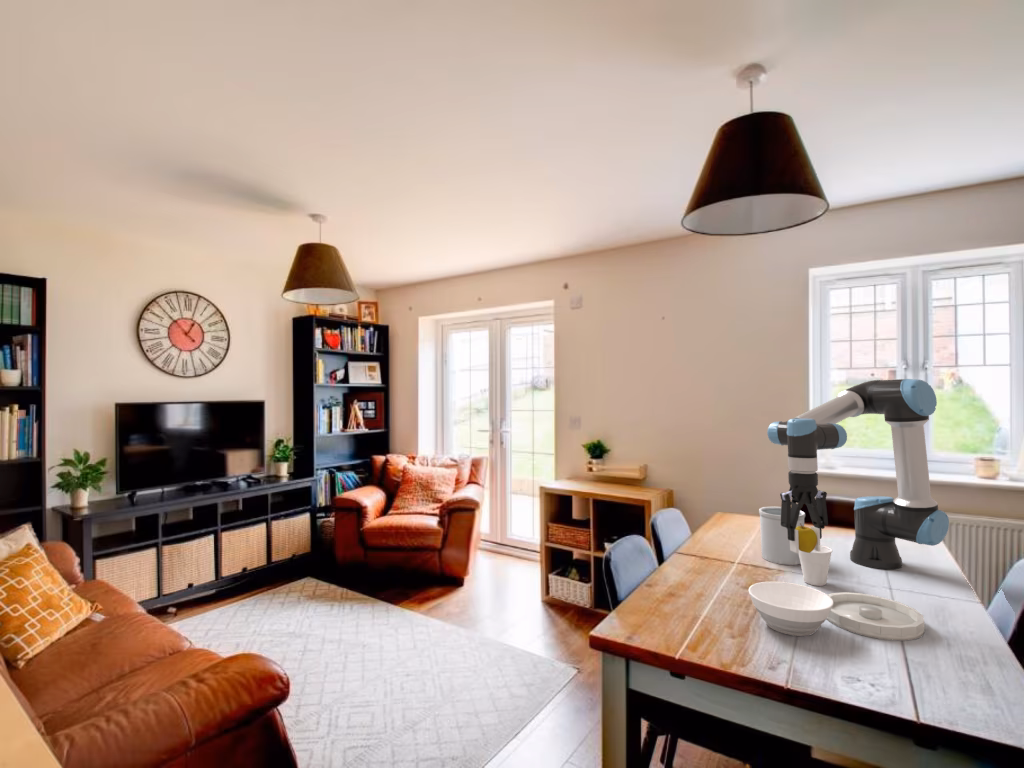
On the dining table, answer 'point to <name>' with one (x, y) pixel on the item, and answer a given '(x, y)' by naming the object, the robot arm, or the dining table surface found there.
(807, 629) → the bowl
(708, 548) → the dining table surface
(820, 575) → the cup
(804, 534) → the apple
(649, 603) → the dining table surface
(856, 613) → the ring tray
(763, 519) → the utensil holder
